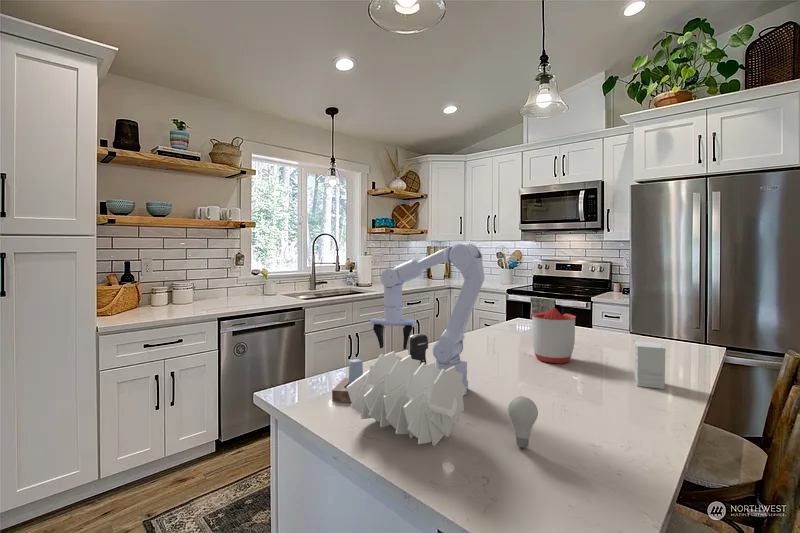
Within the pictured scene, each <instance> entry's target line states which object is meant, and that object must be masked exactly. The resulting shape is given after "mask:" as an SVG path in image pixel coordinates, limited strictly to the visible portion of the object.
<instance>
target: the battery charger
mask: <svg viewBox="0 0 800 533" xmlns="http://www.w3.org/2000/svg"><path fill="white" fill-rule="evenodd" d="M407 345H408V346H407V350H408V356H409V355H411V358H412V359H415V360H419V361H420V365H421V364H422V363H425V365H426V364H428V363H427V359H426V358H427V357H426V356H427V355H426V353H427V352H426V351H427V350H428V349H429V338H428V336H427V335H426V334H424V333H416V334H415V333H414V334H410V335H409V338H408V342H407Z"/></svg>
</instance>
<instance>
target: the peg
mask: <svg viewBox="0 0 800 533" xmlns="http://www.w3.org/2000/svg"><path fill="white" fill-rule="evenodd" d="M363 362H364V361H363V360H362V359H358V358H357V359H356V358H354V359H350V360H348V378H349V385H350V384H351V383H352V382H354V381H355V380H356V379H358V378H359V377H360V376H362V375H363V374H364V372H363V371H364V370H363V368H364V367H363V365H364V363H363Z"/></svg>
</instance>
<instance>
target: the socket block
mask: <svg viewBox="0 0 800 533" xmlns="http://www.w3.org/2000/svg"><path fill="white" fill-rule="evenodd" d="M348 385H349V377H348V378H345V377H344V378H343V379H342V380H341V381H339V383H338V384H337V385H336V386H335V387H334V388H333V389H332V390H331V400H332V402H342V403H343V402H345V403H352V402H351V400H350V397H349V394H348V390H347V386H348Z"/></svg>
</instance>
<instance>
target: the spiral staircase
mask: <svg viewBox="0 0 800 533" xmlns="http://www.w3.org/2000/svg"><path fill="white" fill-rule="evenodd" d="M462 378H463V374H462V373H460V372H457V371H456V369H455V366H453V367H451V368H449V369H447V370H445V369H442V370H440V369H438V368H437V367H436V361H432V362H429V363H427V364H426V365H425V363H422V364H421V365H420V361H419V360H415V359H412V358H411V355H409V354H408V355H407V356H405V357H401V356H398V355H396V352H395V351H391V352H388V353H386V354H383V353H380V354H379V356H378V357H377V358H376V360H375V361H374V363H373V364H372V365H370V366H369V369H368V370H367V371H366V372H363V375H362V376H360V377H359V378H358V379H356V380H355V381H354V382H352V383H351V384H350V385H348V386H347V390H348V394H349V397H350V400H351V402H350V403H351V404H350V407H351V409H353V410H355V411H356V412H357V413H358V414H359V415H360V419H361V420H365V419H366V420H367V419H374V420H375V422H379V428H383V427H388V426H392V428H394V429H395V432H394V433H395V434H397V435H408V434H409V435H408V436H409V438H410V439H412V438H413V437H415V438H416V439H417V444H418V445H421V444H422V445H423V444H427V443H431V444H432V446H433V447H436V445H437V444H438V443H439V442H440V441H441V440H442V439H443V437H444V436H445V438H449V437H450V433H451V431H452V428H453V425H454V424H455V422H459V421H460V416H461V413H462V412H463V411H465V408H464V407H465V406H464V396H465V395H464V394H465V392H466V388H465V386H464V384H463V382H462Z"/></svg>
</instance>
